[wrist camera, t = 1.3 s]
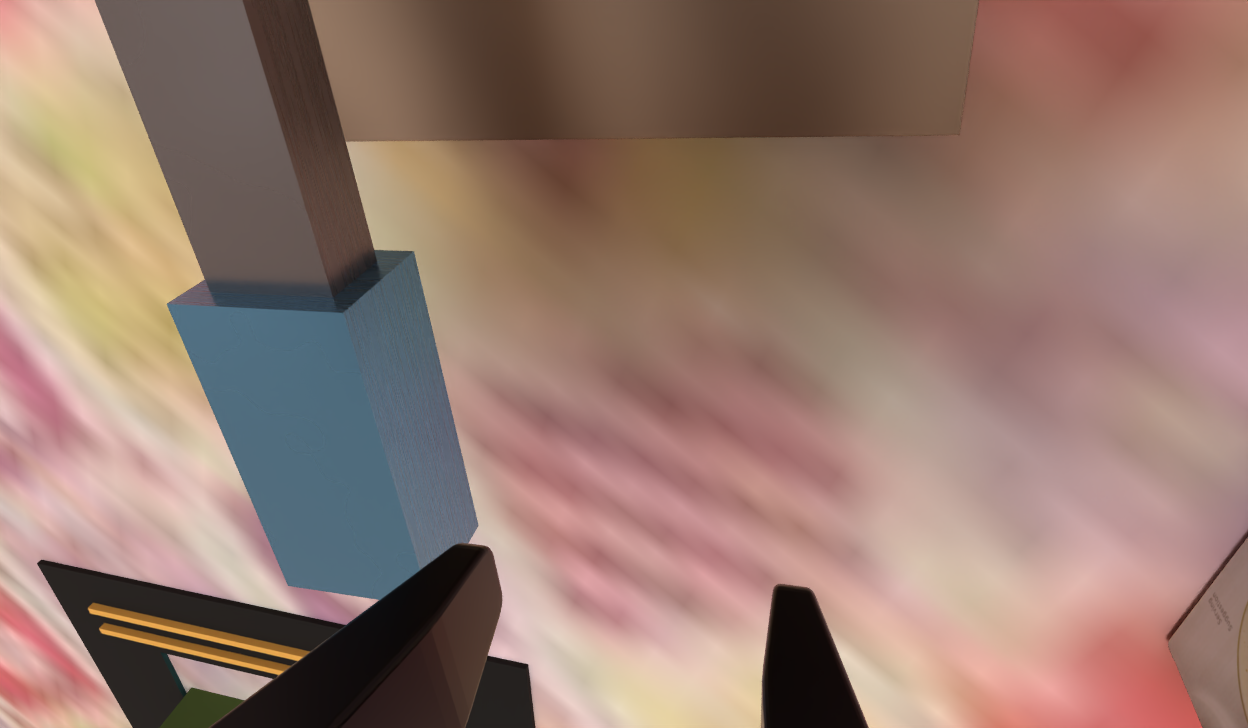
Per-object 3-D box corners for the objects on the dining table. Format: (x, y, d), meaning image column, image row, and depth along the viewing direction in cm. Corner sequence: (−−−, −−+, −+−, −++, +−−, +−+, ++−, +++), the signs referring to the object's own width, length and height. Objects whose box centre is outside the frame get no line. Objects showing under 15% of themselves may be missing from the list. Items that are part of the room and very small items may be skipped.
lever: (-55, -597, 8) (-296, -721, 6) (212, -683, 7) (16, -852, 5) (339, 508, 15) (278, 583, 14) (488, 526, 15) (442, 609, 13)
